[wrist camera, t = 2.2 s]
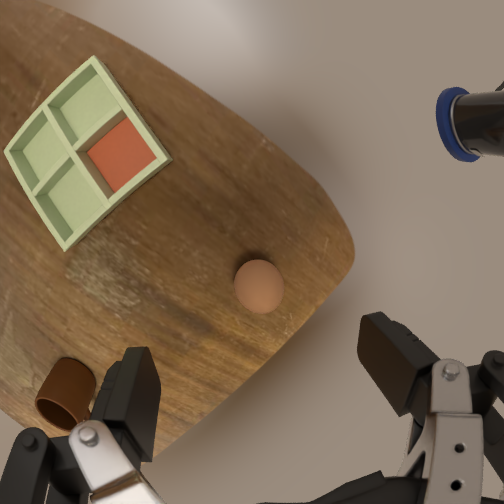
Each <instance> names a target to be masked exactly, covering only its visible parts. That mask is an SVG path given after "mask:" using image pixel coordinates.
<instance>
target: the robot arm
mask: <svg viewBox="0 0 504 504" xmlns="http://www.w3.org/2000/svg"><path fill="white" fill-rule="evenodd" d="M503 88H504V82H503V83H502V84H501V85H500V86H499V87H498V88H497V89H496V90H495V91H492V92H483V93H474V94H461V95H456V96H454V97H453V98H452V100H451V102H450V105H449V111H448V117H449V125H450V129H451V132H452V135H453V138H454V140H455V142H456V143H457V145H458V146H459V148H460V149H461V150H462V151H464V152H465V153H467V154H475V155H477V156H482V157H483V155H482V154H485V155H493V156H502V157H504V91H501V90H502V89H503ZM357 353H358V358H359V360H360V362H361V364H362V365H363V366H364V368H365V369H366V371H367V372H368V373H369V375H370V376H371V378H372V379H373V380H374V382H375V383H376V385H377V386H378V387H379V389H380V390H381V391H382V393H383V394H384V396H385V397H386V399H387V400H388V401H389V403H390V404H391V406H392V407H393V409H394V410H395V412H396V413H397V415H398V416H399V417H401V416H403V415H405V414H407V413H411V414H412V418H411V422H410V427H409V433H408V438H407V444H406V449H405V453H404V458H403V462H402V464H401V467H400V469H399V471H398V474H397V476H392V477H384V476H383V474H382V472H381V471H380V470H379V471H377V472H375V473H372V474H369V475H367V476H364V477H361V478H359V479H356V480H353V481H350V482H347V483H345V484H343V485H342V486H340V487H338V488H336V489H334V490H333V491H331V492H329V493H327V494H325V495H323V496H321V497H320V498H317V499H315V500H314V501H311V502H306V503H266V502H265V503H259V504H504V485H503V490H502V491H501V492H500V495H499V497H500V500H498V499H492V498H487V497H482V496H481V493H482V482H483V455H485V456H486V458H487V459H488V460H489V462H490V464H491V465H492V467H493V468H494V470H495V471H496V473H497V474H498V476H499V477H500V479H501V480H502V482H503V484H504V419H503V418H502V416H501V415H500V414H499V413H498V412H497V410H496V409H495V408H494V407H493V406H492V405H493V404H494V402H495V400H496V399H497V397H499V399H500V400H501V401H502V402H503V403H504V353H503V352H501V351H497V350H493V351H489V352H487V353H486V354H485V355H484V357H483V359H482V361H481V364H479V365H474V366H469V367H466V366H464V364H463V363H461V362H460V361H457V360H454V359H442V360H441V359H440V358H439V357H437V355H435V354H434V353H433V352H432V351H431V350H430V349H429V348H428V347H427V346H426V345H425V344H424V343H423V342H422V341H421V340H419V338H418V337H417V336H415V335H414V334H412V332H411V331H410V330H409V329H408V328H407V327H406V326H404V325H402V324H400V323H398V322H396V321H391V320H390V319H389V318H388V317H387V316H386V315H385V314H384V313H383V312H376V313H372V314H368V315H363V316H362V318H361V323H360V330H359V338H358V346H357ZM160 396H161V383H160V379H159V376H158V373H157V370H156V367H155V364H154V362H153V359H152V356H151V353H150V350H149V348H148V347H128V348H127V349H126V351H125V354H124V357H123V359H122V361H116V362H115V363H114V364H113V365H112V366H111V367H110V368H109V369H108V370H107V373H106V375H105V378H104V382H103V383H102V385H101V390H100V391H99V393H98V396H97V398H96V401H95V404H94V406H93V409H92V412H91V415H90V418H89V420H86V421H83V422H81V423H79V424H77V425H76V426H75V427H74V428H73V429H72V431H71V432H70V435H69V436H62V437H54V438H49V437H48V436H47V435H46V434H45V433H44V431H43V430H41V429H39V428H36V427H30V428H27V429H25V430H23V431H22V432H21V433H19V434H18V436H17V437H16V439H15V442H14V444H13V447H12V449H11V452H10V455H9V458H8V460H7V463H6V466H5V469H4V472H3V475H2V478H1V481H0V504H44V501H45V496H46V491H47V487H48V484H49V485H50V486H49V490H48V495H47V500H46V504H88V496H89V493H93V495H91V496H90V500H91V502H92V504H167V503H166V502H165V501H164V500H163V499H162V498H161V496H160V495H159V494H158V493H157V492H156V490H155V489H154V488H153V487H152V486H151V484H150V483H149V482H148V481H147V479H146V478H145V477H144V475H143V474H142V473H141V471H140V466H141V462H152V457H153V448H154V439H155V431H156V424H157V416H158V409H159V403H160Z"/></svg>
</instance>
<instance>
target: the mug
mask: <svg viewBox="0 0 504 504" xmlns="http://www.w3.org/2000/svg"><path fill="white" fill-rule="evenodd" d="M95 386H96V383H95V379H94V377H93V375H92V373H91V372H90V371H89V370H88V369H87V368H86V367H85V366H84V365H83V364H81V363H79V362H78V361H75V360H73V359H68V358H65V359H61V360H59V361H58V362H57V363H56V364H55V365H54V367H53V368H52V370H51V372H50V373H49V375H48V376H47V378H46V380H45V381H44V383H43V385H42V386H41V388H40V390H39V392H38V394H37V397H36V399H35V407H36V409H37V411H38V412H39V414H40V415H41V416H42V417H43V418H44V419H45V420H46V421H47V422H49V423H50V424H51V425H53V426H55V427H56V428H59V429H61V430H64V431H67V432H71V431H72V429H73V428H74V427H75V426H76V425H77V424H79V423H81V422H83V420H85V421H86V420H89V418H90V415H91V413H90V410H89V408H88V407H89V404H90V401H91V398H92V396H93V393H94V391H95Z"/></svg>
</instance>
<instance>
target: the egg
mask: <svg viewBox="0 0 504 504" xmlns="http://www.w3.org/2000/svg"><path fill="white" fill-rule="evenodd" d="M234 288H235V293H236V296H237V298H238V300H239V301H240V303H241V304H242V305H243V306H244V307H245V308H247V309H248V310H250V311H252V312H255V313H260V314H265V313H269V312H271V311H273V310H274V309H275V308H276V307H277V306H278V305H279V304H280V302H281V300H282V298H283V294H284V282H283V278H282V276H281V274H280V272H279V271H278V269H277V268H276V267H275V266H274V265H272V264H271V263H269V262H267V261H265V260H251V261H249V262H246V263H245V264H243V265H242V266H241V268H240V269H239V270H238V272H237V273H236V276H235V280H234Z"/></svg>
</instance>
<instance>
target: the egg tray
mask: <svg viewBox="0 0 504 504" xmlns="http://www.w3.org/2000/svg"><path fill="white" fill-rule="evenodd" d="M4 153H5V155H6V157H7V159H8V161H9V163H10V165H11V167H12V169H13V171H14V173H15V175H16V176H17V178H18V180H19V182H20V184H21V185H22V187H23V189H24V191H25V192H26V194H27V196H28V197H29V199H30V201H31V202H32V204H33V206H34V207H35V209H36V210H37V212H38V214H39V215H40V217H41V218H42V220H43V221H44V223H45V224H46V226H47V227H48V229H49V230H50V232H51V233H52V235H53V236H54V238H55V239H56V240H57V242H58V243H59V245H60V246H61V247H62V249H63V250H64V251H67V250H68V249H70V248H71V247H73V246H74V245H76V244H77V243H78V242H79V241H80V240H81V239H82V238H83V237H84V236H85V235H86V234H87V233H88V232H89V231H90V230H91V229H92V228H94V227H95V226H96V225H97V224H98V223H99V222H100V221H101V220H102V219H103V218H104V217H105V216H106V215H107V214H109V213H110V212H111V211H112V210H113V209H114V208H115V207H116V206H118V205H119V204H120V203H121V202H122V201H123V200H124V199H126V198H127V197H128V196H129V195H130V194H131V193H133V192H134V191H135V190H136V189H137V188H139V187H140V186H141V185H142V184H143V183H145V182H146V181H147V180H148V179H150V178H151V177H152V176H153V175H155V174H156V173H157V172H158V171H160V170H161V169H162V168H164V167H165V166H166V165H167V164H169V163H170V162H171V161H173V159H172V158H171V156H170V155H169V154H168V152H167V151H166V150H165V148H164V147H163V145H162V144H161V143H160V141H159V140H158V138H157V137H156V136H155V134H154V133H153V132H152V130H151V129H150V127H149V126H148V125H147V123H146V122H145V120H144V119H143V118H142V116H141V115H140V113H139V112H138V111H137V109H136V108H135V106H134V105H133V104H132V102H131V101H130V100H129V98H128V97H127V95H126V94H125V92H124V91H123V90H122V88H121V87H120V85H119V84H118V83H117V81H116V80H115V78H114V77H113V76H112V74H111V73H110V71H109V70H108V69H107V67H106V66H105V64H104V63H102V62H101V61H100V60H99V59H98V58H97V57H96V56H95V55H93V56H92V57H91V58H90V59H88V60H87V61H86V62H85V63H84V64H82V65H81V66H80V67H79V68H78V69H77V70H76V71H75V72H73V73H72V74H71V75H70V76H69V77H68V78H67V79H66V80H65V81H64V82H63V83H62V84H61V85H60V86H59V87H58V88H57V89H56V90H55V91H54V92H53V93H52V94H51V95H50V96H49V97H48V98H47V99H46V100H45V101H44V102H43V103H42V104H41V105H40V106H39V107H38V109H37V110H36V111H35V112H34V113H33V114H32V115H31V116H30V118H29V119H28V120H27V121H26V122H25V124H24V125H23V126H22V127H21V129H20V130H19V131H18V132H17V134H16V135H15V136H14V137H13V139H12V140H11V141H10V143H9V144H8V146H7V147H6V148H5V150H4Z"/></svg>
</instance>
